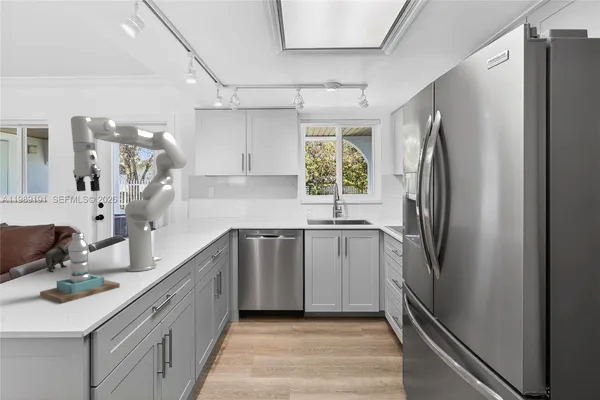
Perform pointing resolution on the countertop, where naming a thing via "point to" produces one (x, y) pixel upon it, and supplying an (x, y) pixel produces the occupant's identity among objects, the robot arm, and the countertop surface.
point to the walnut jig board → (78, 289)
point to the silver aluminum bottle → (79, 259)
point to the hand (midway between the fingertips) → (88, 191)
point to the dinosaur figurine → (56, 257)
